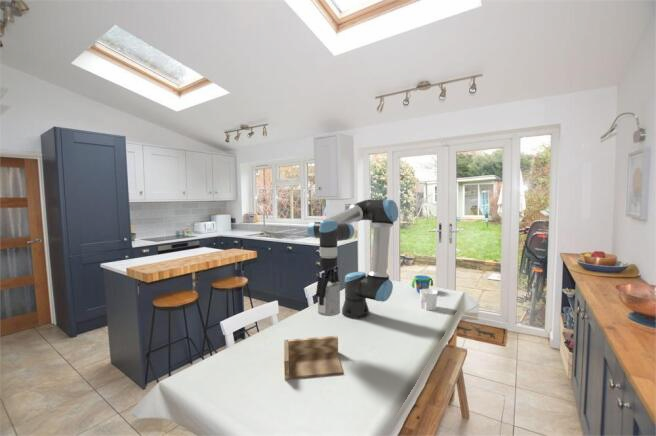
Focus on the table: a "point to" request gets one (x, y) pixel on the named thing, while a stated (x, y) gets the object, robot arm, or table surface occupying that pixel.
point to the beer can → (332, 299)
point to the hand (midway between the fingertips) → (328, 308)
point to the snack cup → (422, 282)
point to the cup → (428, 299)
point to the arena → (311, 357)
